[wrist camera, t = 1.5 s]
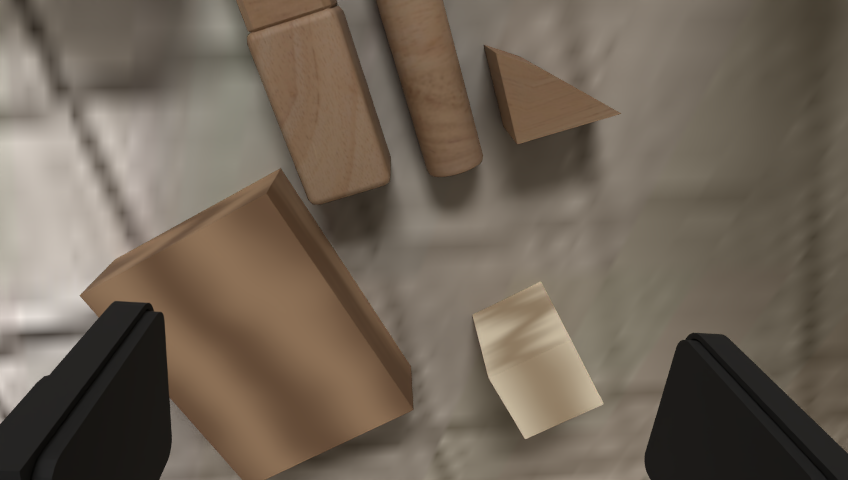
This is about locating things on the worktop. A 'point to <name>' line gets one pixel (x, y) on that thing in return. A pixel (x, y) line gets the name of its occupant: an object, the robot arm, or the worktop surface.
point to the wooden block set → (422, 85)
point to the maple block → (534, 362)
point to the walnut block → (263, 330)
